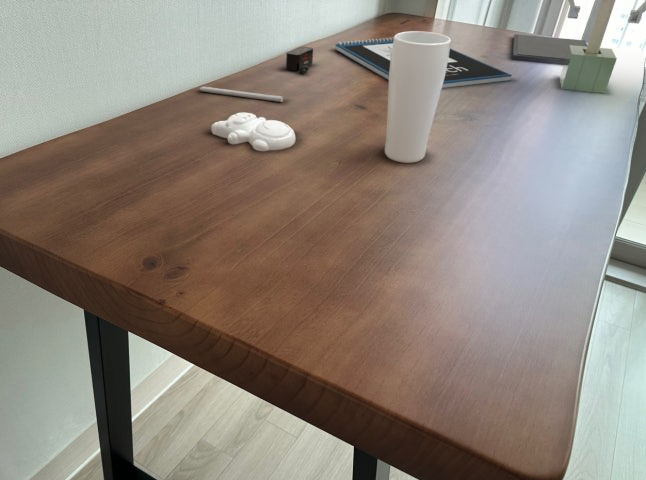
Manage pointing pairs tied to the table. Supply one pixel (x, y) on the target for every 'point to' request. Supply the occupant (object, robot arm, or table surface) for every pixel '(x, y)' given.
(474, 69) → the sketchbook
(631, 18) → the robot arm
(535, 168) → the table surface
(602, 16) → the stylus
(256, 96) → the pencil
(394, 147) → the drinking glass
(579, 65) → the pen block
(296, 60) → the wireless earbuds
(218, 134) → the white animal figurine
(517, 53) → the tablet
